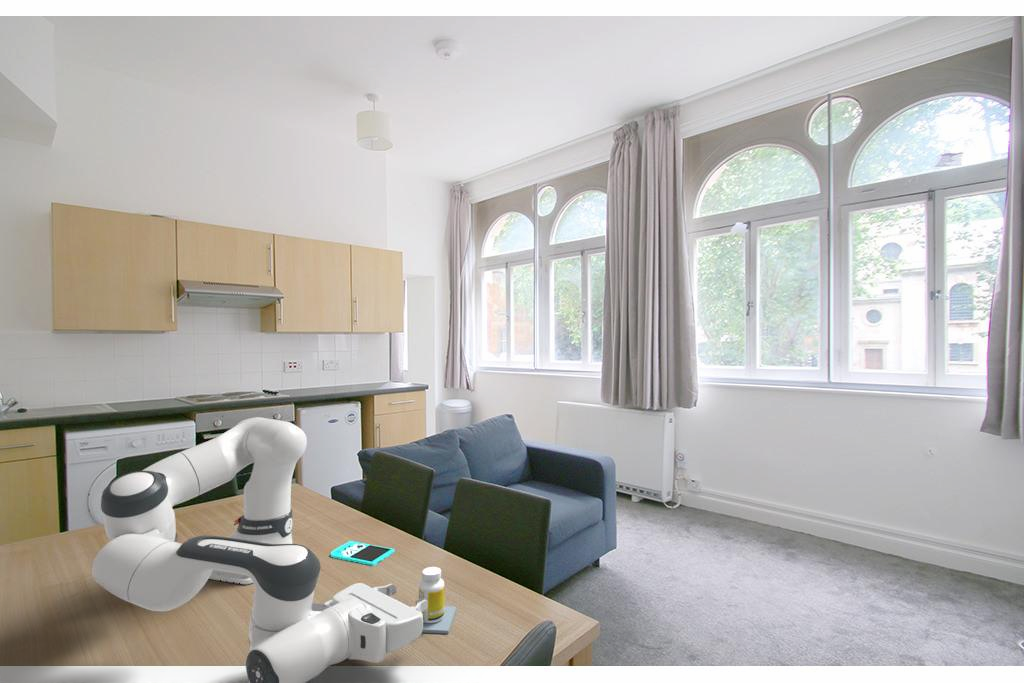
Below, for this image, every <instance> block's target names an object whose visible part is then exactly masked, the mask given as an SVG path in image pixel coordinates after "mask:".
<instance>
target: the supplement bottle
mask: <svg viewBox="0 0 1024 683" xmlns="http://www.w3.org/2000/svg"><path fill="white" fill-rule="evenodd" d="M441 577H442V569H441V568H440V567H437V566H428V567H426V568H424V569H423V570H422V571H421V579H422V580H421V581H420V582H419V584H418V600H419V599H420V598H423V599H425V600H427V601H428V607H427V609H426V610H424V611H423V612H421V613H422V614H423V622H424V623H436V622H439V621H440V620H442V619H443V617H444V606H445V581H444V579H443V578H441Z"/></svg>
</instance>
